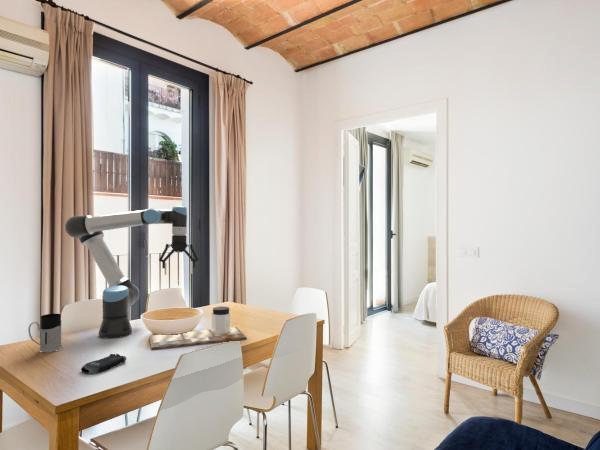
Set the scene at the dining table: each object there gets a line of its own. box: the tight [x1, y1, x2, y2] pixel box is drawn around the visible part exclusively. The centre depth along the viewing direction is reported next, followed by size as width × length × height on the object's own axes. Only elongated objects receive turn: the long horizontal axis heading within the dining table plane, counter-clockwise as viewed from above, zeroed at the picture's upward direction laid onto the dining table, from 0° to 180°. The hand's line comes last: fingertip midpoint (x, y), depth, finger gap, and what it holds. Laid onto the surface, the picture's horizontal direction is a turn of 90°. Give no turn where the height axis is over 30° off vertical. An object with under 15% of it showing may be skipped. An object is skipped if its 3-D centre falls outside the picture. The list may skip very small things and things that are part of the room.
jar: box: [211, 306, 231, 334], centre depth 198 cm, size 9×8×12 cm
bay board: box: [149, 326, 248, 351], centre depth 191 cm, size 43×20×1 cm, turn 113°
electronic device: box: [80, 353, 127, 375], centre depth 152 cm, size 9×6×15 cm
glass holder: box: [28, 313, 63, 353], centre depth 171 cm, size 9×14×15 cm, turn 160°
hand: (178, 274), depth 213 cm, fingers open, 13 cm apart
